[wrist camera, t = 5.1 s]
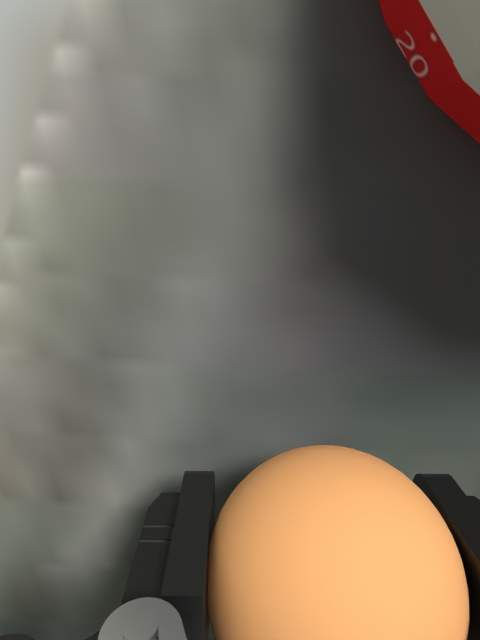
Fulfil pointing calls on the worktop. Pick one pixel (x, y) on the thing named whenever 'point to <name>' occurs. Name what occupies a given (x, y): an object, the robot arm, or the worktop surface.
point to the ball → (333, 554)
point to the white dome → (442, 52)
